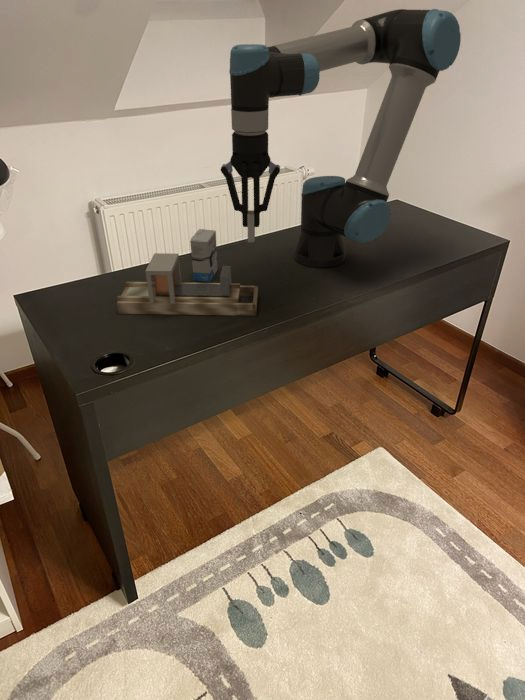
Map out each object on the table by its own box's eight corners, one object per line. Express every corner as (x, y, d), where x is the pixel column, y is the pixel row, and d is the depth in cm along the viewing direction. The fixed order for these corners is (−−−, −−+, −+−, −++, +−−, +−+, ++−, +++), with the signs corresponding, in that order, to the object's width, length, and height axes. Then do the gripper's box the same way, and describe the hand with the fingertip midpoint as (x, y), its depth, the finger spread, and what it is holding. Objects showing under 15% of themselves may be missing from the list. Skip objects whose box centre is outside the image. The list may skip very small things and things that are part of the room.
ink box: (210, 282, 142) (207, 241, 135) (192, 281, 142) (189, 240, 136) (218, 269, 148) (216, 229, 142) (202, 267, 149) (199, 228, 143)
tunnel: (181, 284, 134) (178, 253, 129) (174, 303, 126) (171, 271, 121) (158, 284, 134) (154, 253, 129) (149, 303, 126) (145, 270, 121)
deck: (257, 296, 135) (257, 282, 133) (256, 315, 127) (255, 301, 124) (129, 294, 136) (126, 280, 134) (118, 313, 128) (116, 298, 126)
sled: (231, 287, 132) (230, 266, 128) (229, 299, 127) (228, 276, 123) (160, 286, 132) (157, 265, 129) (155, 298, 127) (152, 275, 124)
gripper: (281, 127, 111) (279, 234, 124) (220, 127, 111) (224, 233, 124) (281, 135, 105) (279, 246, 118) (216, 134, 105) (221, 245, 118)
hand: (251, 239), depth 121 cm, fingers closed
